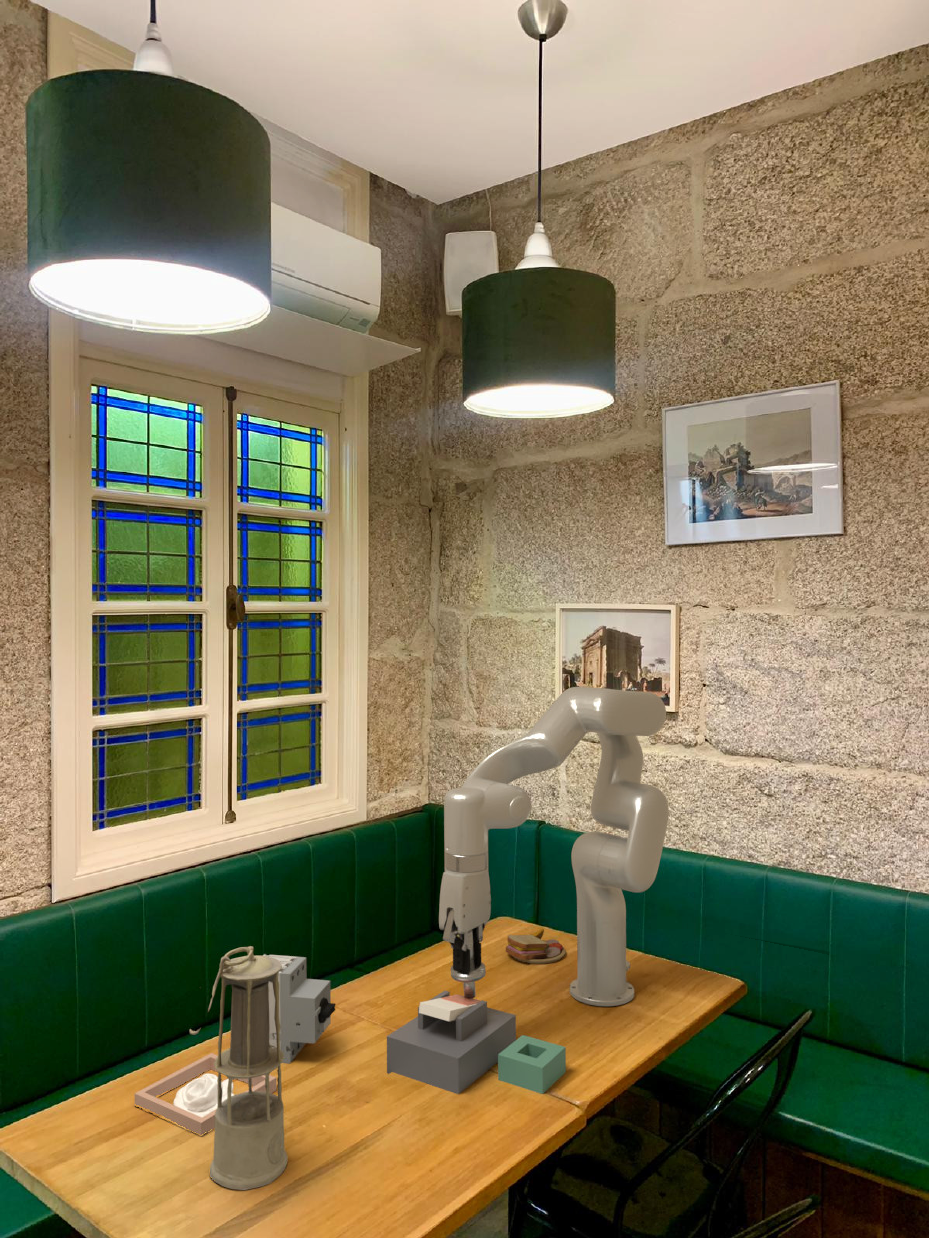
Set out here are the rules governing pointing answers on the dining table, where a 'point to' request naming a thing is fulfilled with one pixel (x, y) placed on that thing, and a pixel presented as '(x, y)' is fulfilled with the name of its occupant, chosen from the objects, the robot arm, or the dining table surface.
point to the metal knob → (474, 974)
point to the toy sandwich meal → (534, 948)
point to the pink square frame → (169, 1111)
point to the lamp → (248, 1077)
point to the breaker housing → (450, 1046)
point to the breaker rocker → (447, 1007)
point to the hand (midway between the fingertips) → (467, 967)
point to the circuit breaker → (298, 1007)
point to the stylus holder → (532, 1064)
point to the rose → (201, 1095)
